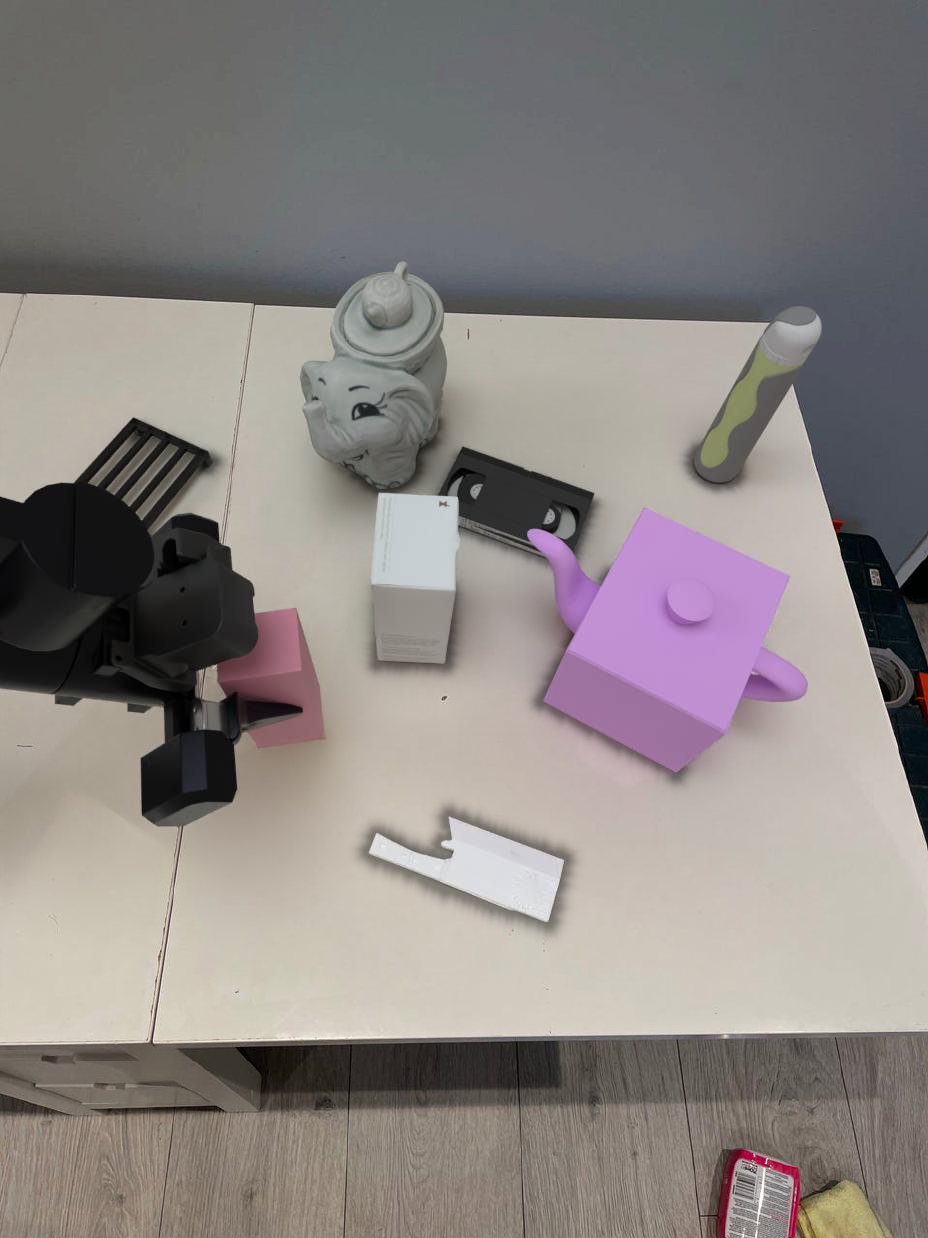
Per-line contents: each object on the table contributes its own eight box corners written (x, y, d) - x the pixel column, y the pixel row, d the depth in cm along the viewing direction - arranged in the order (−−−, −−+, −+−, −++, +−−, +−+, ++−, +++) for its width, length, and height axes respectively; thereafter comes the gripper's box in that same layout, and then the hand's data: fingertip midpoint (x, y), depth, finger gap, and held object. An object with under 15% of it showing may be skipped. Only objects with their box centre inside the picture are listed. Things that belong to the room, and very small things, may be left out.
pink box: (258, 749, 55) (217, 682, 44) (255, 695, 57) (215, 617, 46) (325, 739, 56) (301, 670, 45) (319, 686, 58) (296, 607, 47)
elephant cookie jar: (335, 537, 72) (309, 403, 55) (276, 427, 77) (236, 274, 60) (482, 476, 76) (500, 334, 59) (416, 376, 81) (415, 219, 64)
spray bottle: (711, 492, 77) (800, 345, 59) (682, 458, 78) (761, 306, 60) (746, 474, 78) (844, 325, 60) (717, 441, 80) (804, 287, 62)
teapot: (546, 541, 73) (572, 451, 60) (783, 659, 69) (865, 589, 56) (472, 663, 67) (485, 591, 54) (728, 801, 63) (806, 758, 50)
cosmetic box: (383, 583, 70) (375, 486, 56) (453, 587, 70) (461, 491, 56) (376, 665, 66) (365, 583, 52) (449, 668, 67) (457, 588, 53)
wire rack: (139, 551, 70) (133, 542, 68) (62, 514, 71) (54, 503, 70) (212, 462, 75) (208, 450, 73) (139, 428, 76) (133, 416, 75)
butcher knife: (393, 795, 61) (392, 792, 60) (564, 861, 60) (566, 859, 59) (368, 854, 59) (368, 852, 58) (545, 924, 58) (548, 923, 57)
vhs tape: (432, 516, 74) (432, 505, 72) (461, 458, 77) (462, 445, 75) (566, 566, 72) (570, 555, 70) (590, 504, 75) (594, 493, 73)
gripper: (135, 763, 31) (397, 777, 43) (131, 423, 39) (353, 512, 51) (27, 831, 37) (282, 827, 49) (41, 524, 45) (258, 583, 57)
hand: (295, 680), depth 51 cm, fingers closed on pink box, 4 cm apart
